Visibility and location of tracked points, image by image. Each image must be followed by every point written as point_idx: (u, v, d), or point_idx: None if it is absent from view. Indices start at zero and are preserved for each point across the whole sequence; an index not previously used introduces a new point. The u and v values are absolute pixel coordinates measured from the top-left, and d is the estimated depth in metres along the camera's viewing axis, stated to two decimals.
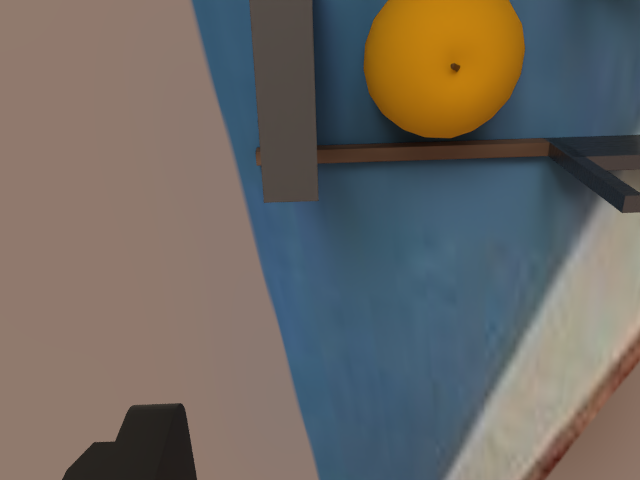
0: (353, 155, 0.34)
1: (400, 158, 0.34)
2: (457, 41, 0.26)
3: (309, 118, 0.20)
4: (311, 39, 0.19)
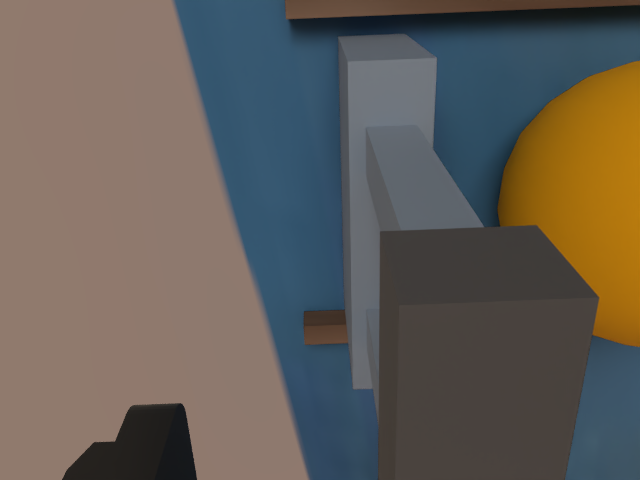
0: None
1: None
2: None
3: None
4: (572, 403, 0.07)
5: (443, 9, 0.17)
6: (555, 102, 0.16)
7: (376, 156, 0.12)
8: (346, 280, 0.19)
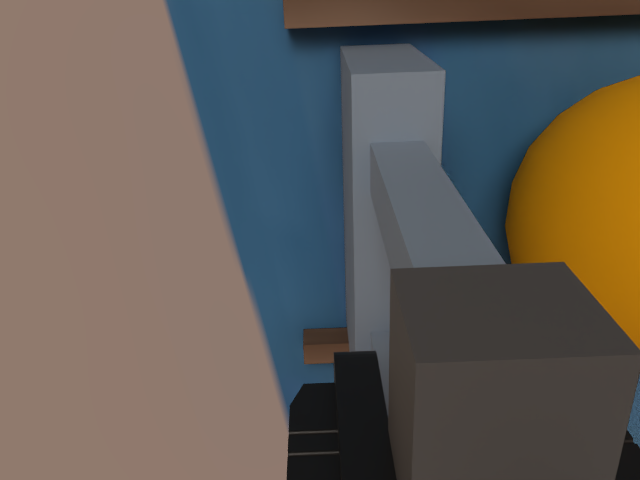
0: None
1: None
2: None
3: None
4: (609, 468, 0.06)
5: (448, 18, 0.16)
6: (565, 115, 0.16)
7: (382, 176, 0.11)
8: (349, 299, 0.18)
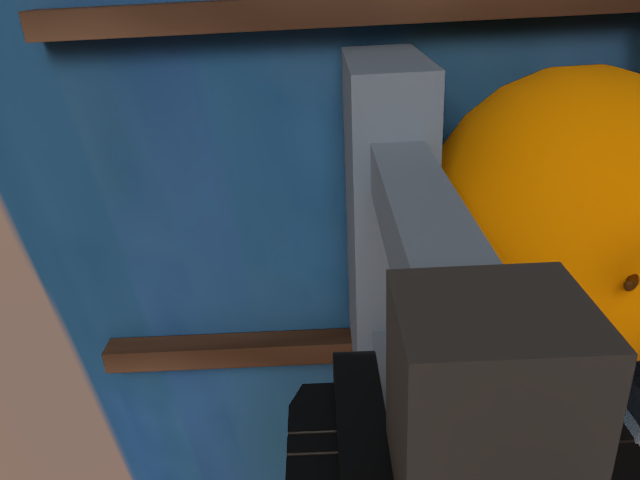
0: (263, 357, 0.21)
1: None
2: (637, 235, 0.12)
3: None
4: (605, 469, 0.06)
5: (187, 31, 0.16)
6: (465, 117, 0.16)
7: (382, 176, 0.11)
8: (351, 299, 0.18)
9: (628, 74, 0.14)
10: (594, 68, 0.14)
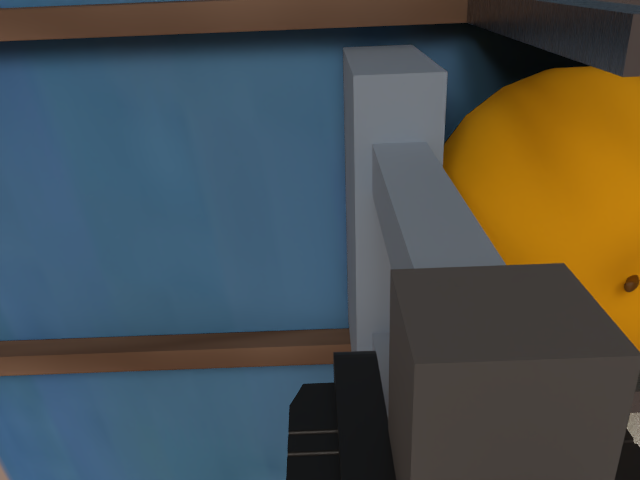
0: (121, 362, 0.21)
1: (201, 365, 0.21)
2: (638, 236, 0.12)
3: None
4: (609, 470, 0.06)
5: (9, 37, 0.16)
6: (466, 117, 0.16)
7: (384, 177, 0.11)
8: (351, 300, 0.18)
9: None
10: (595, 69, 0.14)
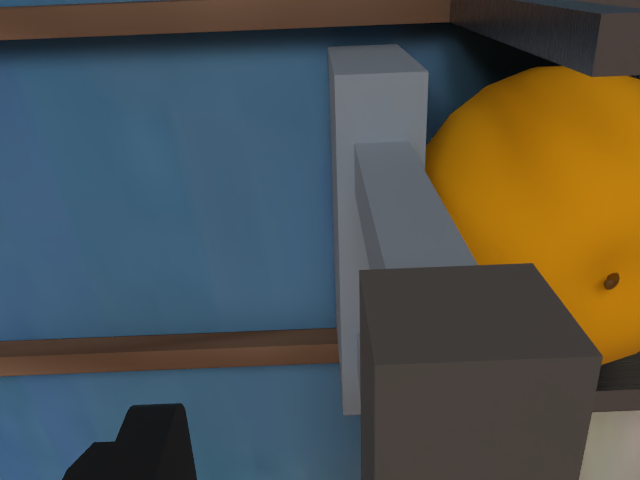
0: (108, 362, 0.21)
1: (187, 365, 0.21)
2: (617, 233, 0.12)
3: None
4: (572, 470, 0.06)
5: None
6: (450, 116, 0.16)
7: (363, 177, 0.11)
8: (337, 299, 0.18)
9: None
10: None
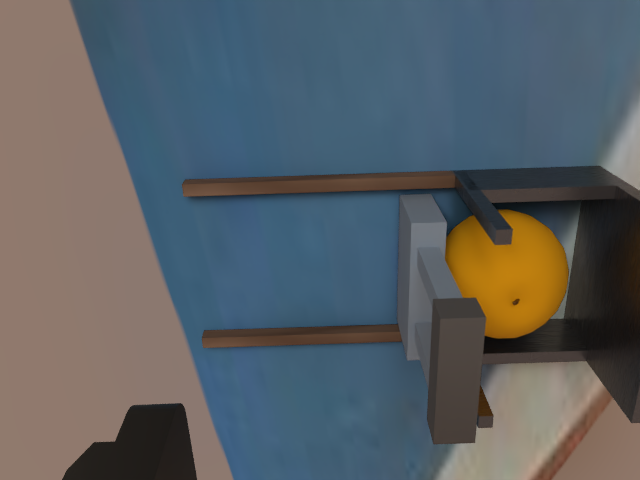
0: (282, 340, 0.41)
1: (322, 342, 0.41)
2: (517, 284, 0.33)
3: (474, 391, 0.27)
4: (482, 343, 0.26)
5: (254, 192, 0.37)
6: (455, 229, 0.37)
7: (424, 265, 0.32)
8: (402, 309, 0.39)
9: (519, 219, 0.35)
10: (506, 214, 0.35)
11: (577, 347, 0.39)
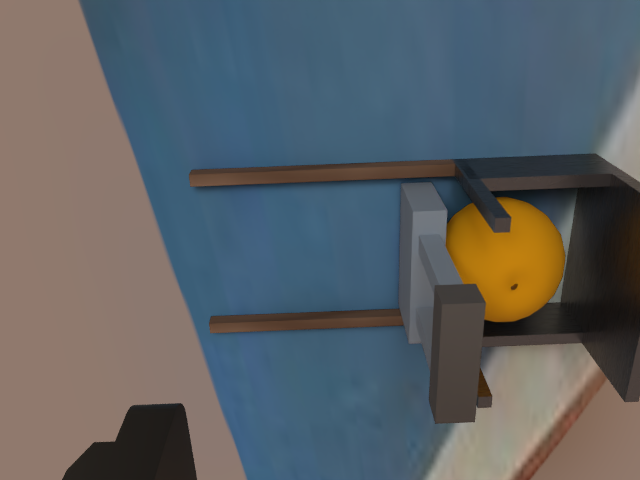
0: (287, 325, 0.43)
1: (326, 326, 0.43)
2: (515, 269, 0.34)
3: (474, 373, 0.29)
4: (482, 327, 0.28)
5: (259, 182, 0.38)
6: (455, 217, 0.38)
7: (426, 252, 0.33)
8: (403, 294, 0.40)
9: (517, 206, 0.36)
10: (505, 202, 0.36)
11: (573, 330, 0.40)
